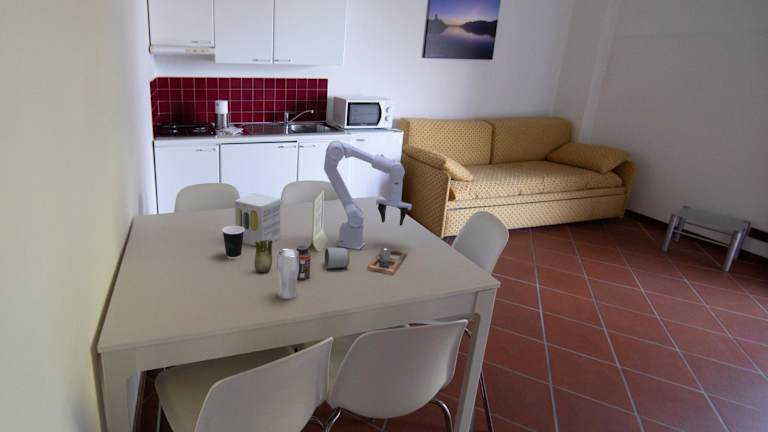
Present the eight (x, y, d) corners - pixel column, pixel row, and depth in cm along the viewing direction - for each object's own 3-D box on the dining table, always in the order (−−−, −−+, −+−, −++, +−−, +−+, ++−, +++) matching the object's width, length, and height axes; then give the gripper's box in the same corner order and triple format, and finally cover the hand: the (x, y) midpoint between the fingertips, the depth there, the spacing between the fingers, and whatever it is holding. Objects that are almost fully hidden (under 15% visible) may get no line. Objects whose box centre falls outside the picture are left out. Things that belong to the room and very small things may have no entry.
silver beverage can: (278, 289, 164) (278, 247, 159) (299, 290, 165) (300, 248, 160) (275, 299, 157) (275, 256, 152) (297, 300, 158) (298, 257, 153)
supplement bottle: (306, 281, 171) (307, 251, 167) (290, 279, 172) (290, 249, 168) (312, 274, 176) (313, 245, 173) (296, 272, 177) (297, 242, 174)
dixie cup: (243, 251, 190) (243, 225, 187) (245, 260, 183) (245, 232, 180) (222, 253, 188) (221, 226, 184) (223, 261, 181) (222, 233, 177)
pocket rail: (367, 269, 184) (367, 266, 183) (383, 251, 202) (383, 247, 202) (392, 275, 181) (393, 271, 181) (406, 255, 199) (407, 252, 199)
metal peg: (376, 267, 186) (378, 248, 184) (381, 264, 190) (383, 245, 187) (386, 270, 185) (387, 250, 182) (391, 267, 188) (392, 247, 185)
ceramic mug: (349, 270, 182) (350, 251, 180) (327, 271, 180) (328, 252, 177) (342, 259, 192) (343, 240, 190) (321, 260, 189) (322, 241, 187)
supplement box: (234, 241, 200) (233, 200, 194) (254, 231, 211) (254, 192, 206) (262, 248, 195) (262, 206, 190) (280, 238, 207) (281, 198, 201)
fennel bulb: (272, 268, 178) (272, 238, 175) (270, 274, 174) (270, 243, 170) (256, 267, 178) (256, 237, 174) (253, 273, 173) (253, 242, 170)
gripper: (414, 192, 201) (411, 223, 206) (380, 186, 205) (378, 217, 210) (410, 196, 195) (407, 228, 199) (375, 190, 199) (373, 222, 203)
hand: (392, 223), depth 204 cm, fingers open, 7 cm apart
